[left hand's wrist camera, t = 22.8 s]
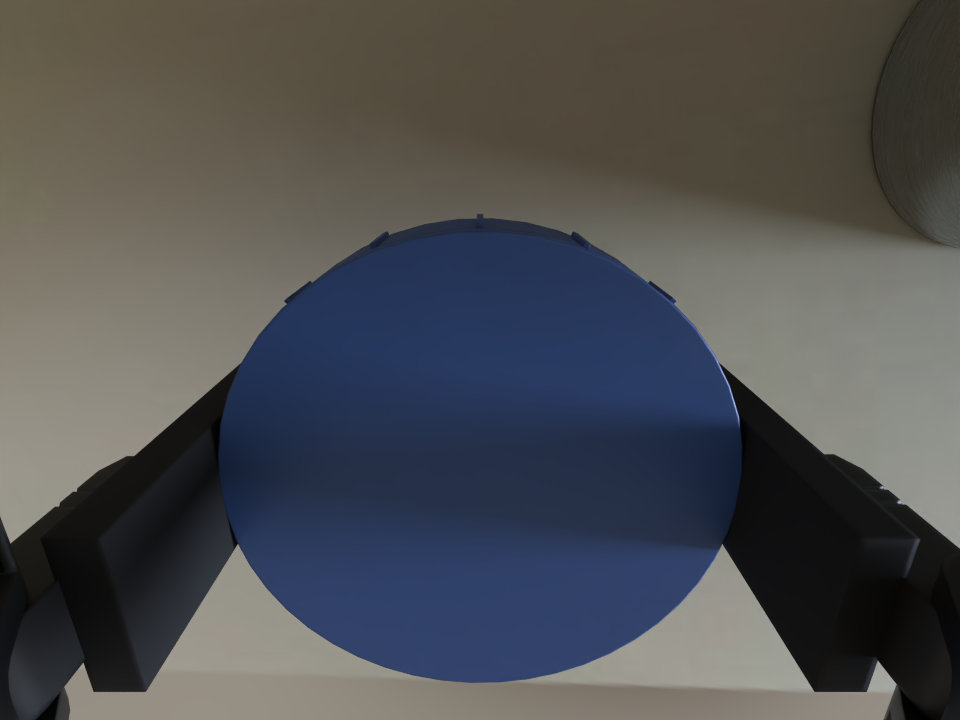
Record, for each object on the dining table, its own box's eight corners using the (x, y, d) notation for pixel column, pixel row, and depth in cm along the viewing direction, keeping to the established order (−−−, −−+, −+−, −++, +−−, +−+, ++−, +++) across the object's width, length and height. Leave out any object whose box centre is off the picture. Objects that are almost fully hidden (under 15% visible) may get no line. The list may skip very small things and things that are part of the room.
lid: (160, 431, 12) (103, 480, 10) (498, 92, 9) (501, 79, 8) (466, 674, 14) (464, 747, 13) (792, 456, 12) (846, 507, 10)
